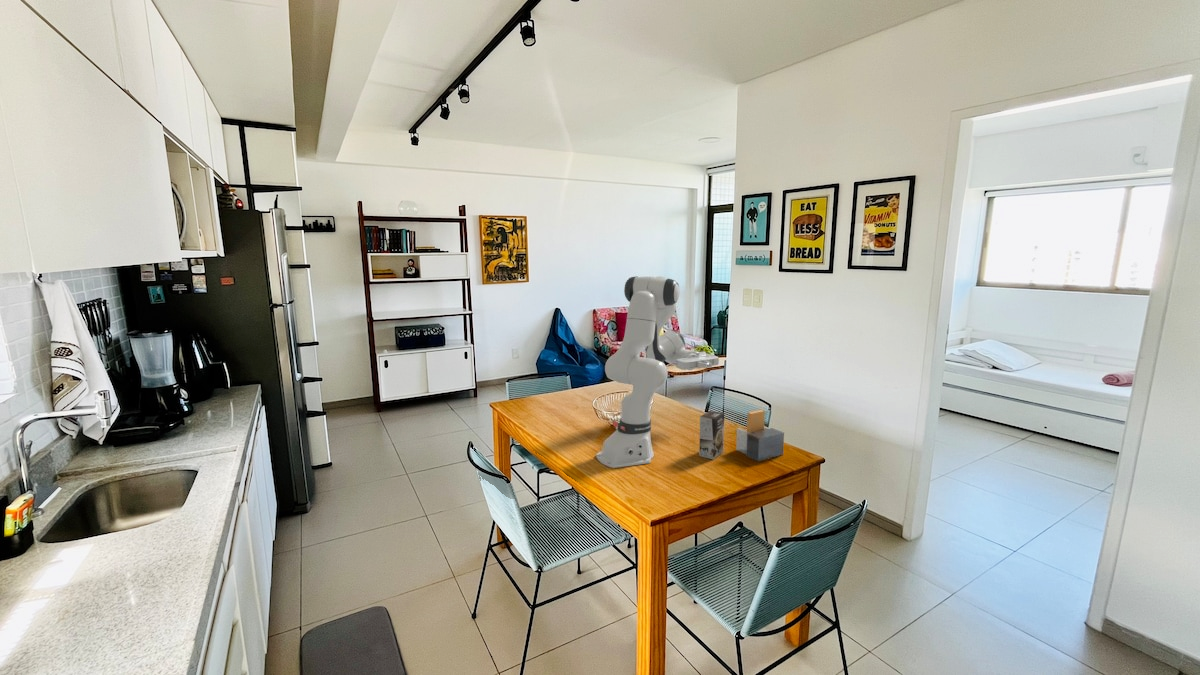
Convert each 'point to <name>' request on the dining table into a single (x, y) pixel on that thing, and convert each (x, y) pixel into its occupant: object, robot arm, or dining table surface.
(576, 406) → the dining table surface
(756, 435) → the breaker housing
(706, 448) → the coffee box
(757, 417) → the breaker paddle
